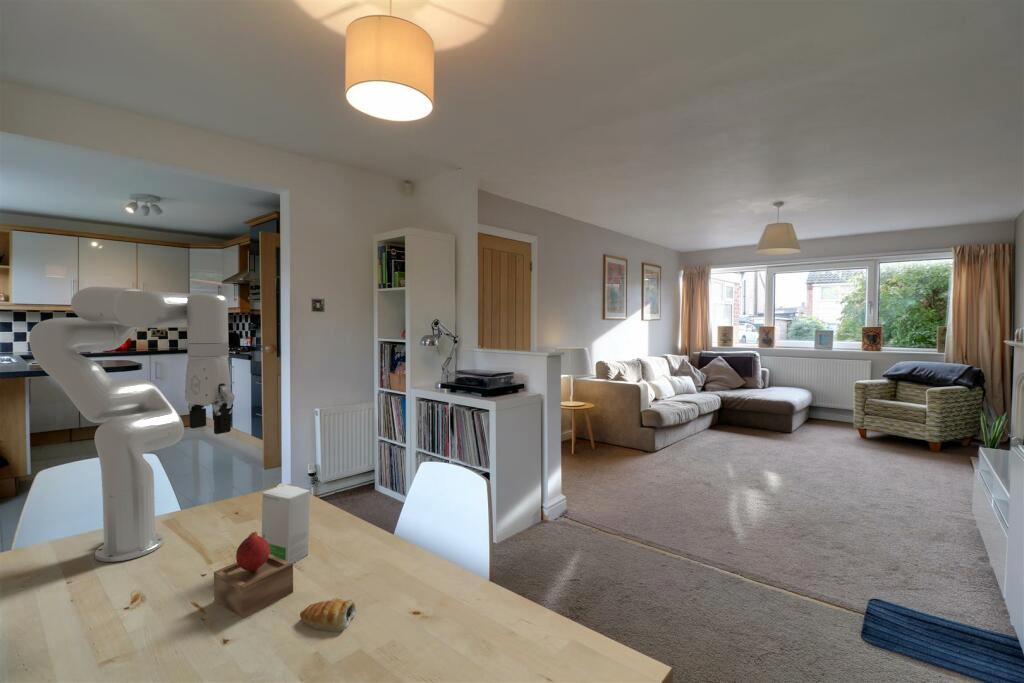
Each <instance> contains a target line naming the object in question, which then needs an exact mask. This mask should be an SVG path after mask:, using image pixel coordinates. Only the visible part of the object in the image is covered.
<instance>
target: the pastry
mask: <svg viewBox="0 0 1024 683" xmlns="http://www.w3.org/2000/svg"><path fill="white" fill-rule="evenodd" d="M356 614H357V607H356V603H355V601H354V600H353V599H351V598H350V599H344V598H336V597H335V598H332V599H331V600H325V601H323V600H322V601H318V602H315V603H313V604H309V605H308V606H307V607H305V608H304V610H302V611H300V614H299V617H300V619H301V620H300V621H302V624H303V625H305V626H308V627H311V628H312V629H314V630H316V631H326V632H333V633H339V632H343V631H345V630H346V629H347V628H348V626H350V623H351V620H352V619H353V618H355V616H356Z"/></svg>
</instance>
